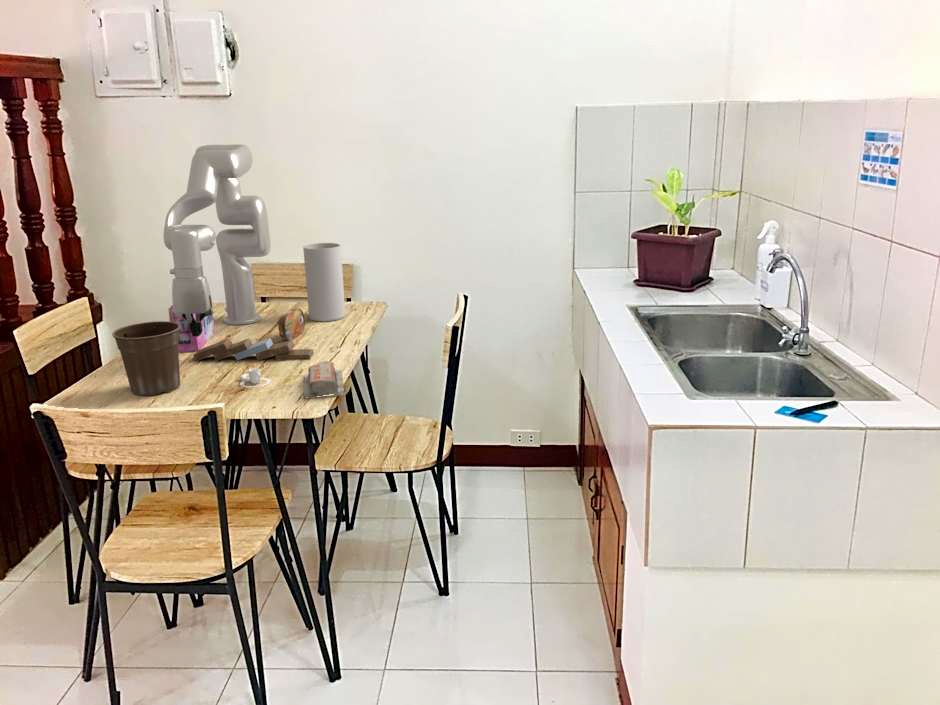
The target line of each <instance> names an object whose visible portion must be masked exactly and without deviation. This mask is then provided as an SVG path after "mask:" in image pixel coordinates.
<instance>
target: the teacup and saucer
mask: <svg viewBox="0 0 940 705" xmlns="http://www.w3.org/2000/svg"><path fill="white" fill-rule="evenodd" d="M261 370H262V369H261V368H260V367H252V368H249V369H248V371H247V372H248V373H244V374H241V375H240V380H241V381H240V383H239V386H240V387H242V388H246V389H247V388H248V389H249V388H250V389H251V388H252V389H253V388H261V387H264V386H267V385H269V384H271V379H270V378H268V377H267V378H266V377H261V376H262V375H261ZM261 380H263V381H266V382H265V383H263V384H260V383H261ZM245 383H250V384H252V385H253V386H249V385H245ZM258 384H260V385H258ZM254 385H255V386H254Z"/></svg>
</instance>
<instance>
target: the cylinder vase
mask: <svg viewBox="0 0 940 705" xmlns="http://www.w3.org/2000/svg"><path fill="white" fill-rule="evenodd" d="M302 250H303V259H304V260H303V261H304V274H305V284H306V296H307V297H306V299H307V310H308V318H309V319H310V321H311V320H312V321H315V322H333V321H339V320H341V319H343V318H345V316H346V303H345V291H344V290H345V289H344V288H345V287H344V277H343V276H344V273H343V272H344V271H343V262H342V261H343V260H342V245H341V244H339V243H336V242H319V243H310V244H306V245H304V246H303V248H302Z"/></svg>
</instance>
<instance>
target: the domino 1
mask: <svg viewBox="0 0 940 705" xmlns="http://www.w3.org/2000/svg"><path fill="white" fill-rule="evenodd" d="M232 344H233V342H232V340H231V337H229V338H226V339H223V340H221V341H219V342H216V343H215V342H214V343H213V344H211V345H208V346H205V347H202V348H201V349H200V350H198V351H195V352H194V354H193V355H192V356H193V358H194V361H195V362H199V361H200V360H203V359H206V358H209V357H211V356H213V355H214V354H217V353H219V352H222V351H225V350H227V349H228V348H229V347H230V346H231V345H232Z"/></svg>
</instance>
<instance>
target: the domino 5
mask: <svg viewBox="0 0 940 705" xmlns="http://www.w3.org/2000/svg"><path fill="white" fill-rule="evenodd" d="M314 354H315V351H314V348H302V349H301V348H300V349H298V348H297V349H294V348H292V350H291V351H290V352H286V353H283V354H279V355H275V359H274V360H276V361H287V360H288V361H290V360H292V361H293V360H295V361H296V360H300V361H301V360H302V361H303V360H311V358H312V357H313V356H314Z"/></svg>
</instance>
